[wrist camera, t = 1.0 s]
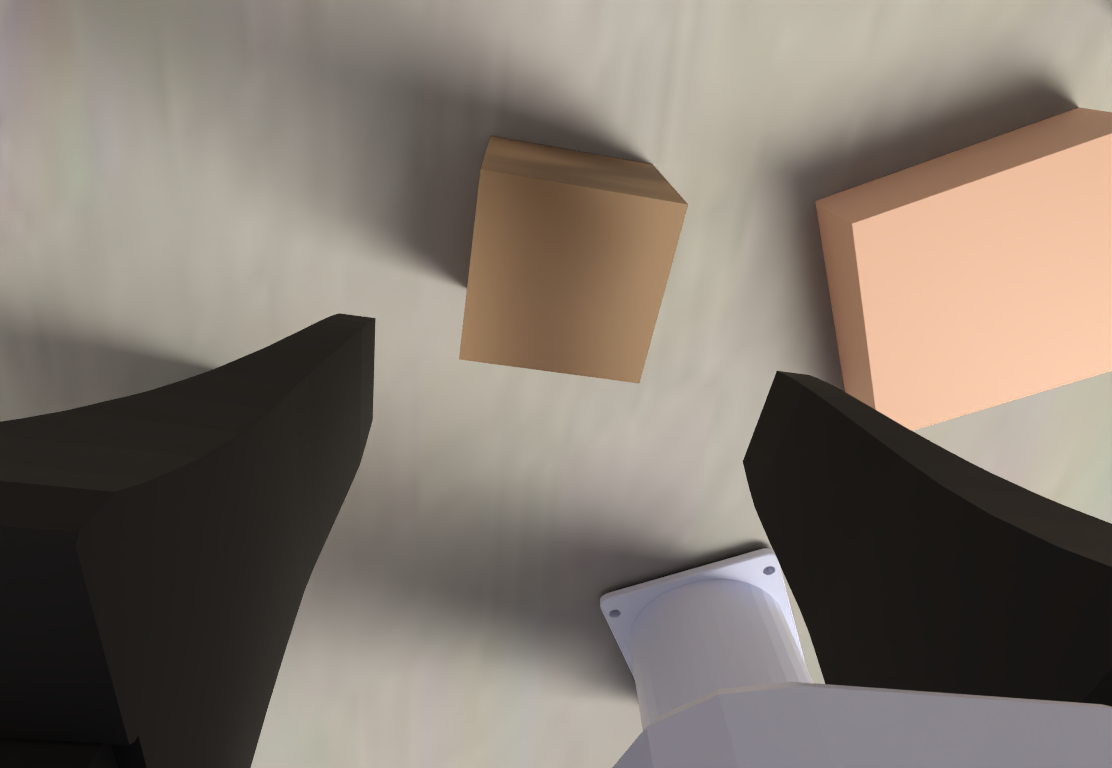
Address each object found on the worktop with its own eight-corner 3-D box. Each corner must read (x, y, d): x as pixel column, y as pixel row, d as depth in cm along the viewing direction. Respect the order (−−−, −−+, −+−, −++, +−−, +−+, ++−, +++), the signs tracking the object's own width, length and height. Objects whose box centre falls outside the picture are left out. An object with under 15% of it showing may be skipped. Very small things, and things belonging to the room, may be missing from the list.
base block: (1059, 327, 23) (1126, 366, 21) (841, 395, 24) (879, 440, 22) (1069, 105, 20) (1152, 118, 17) (810, 198, 21) (851, 223, 18)
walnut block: (652, 163, 20) (687, 204, 15) (616, 311, 22) (639, 383, 18) (490, 135, 19) (480, 169, 15) (472, 290, 21) (458, 359, 17)
